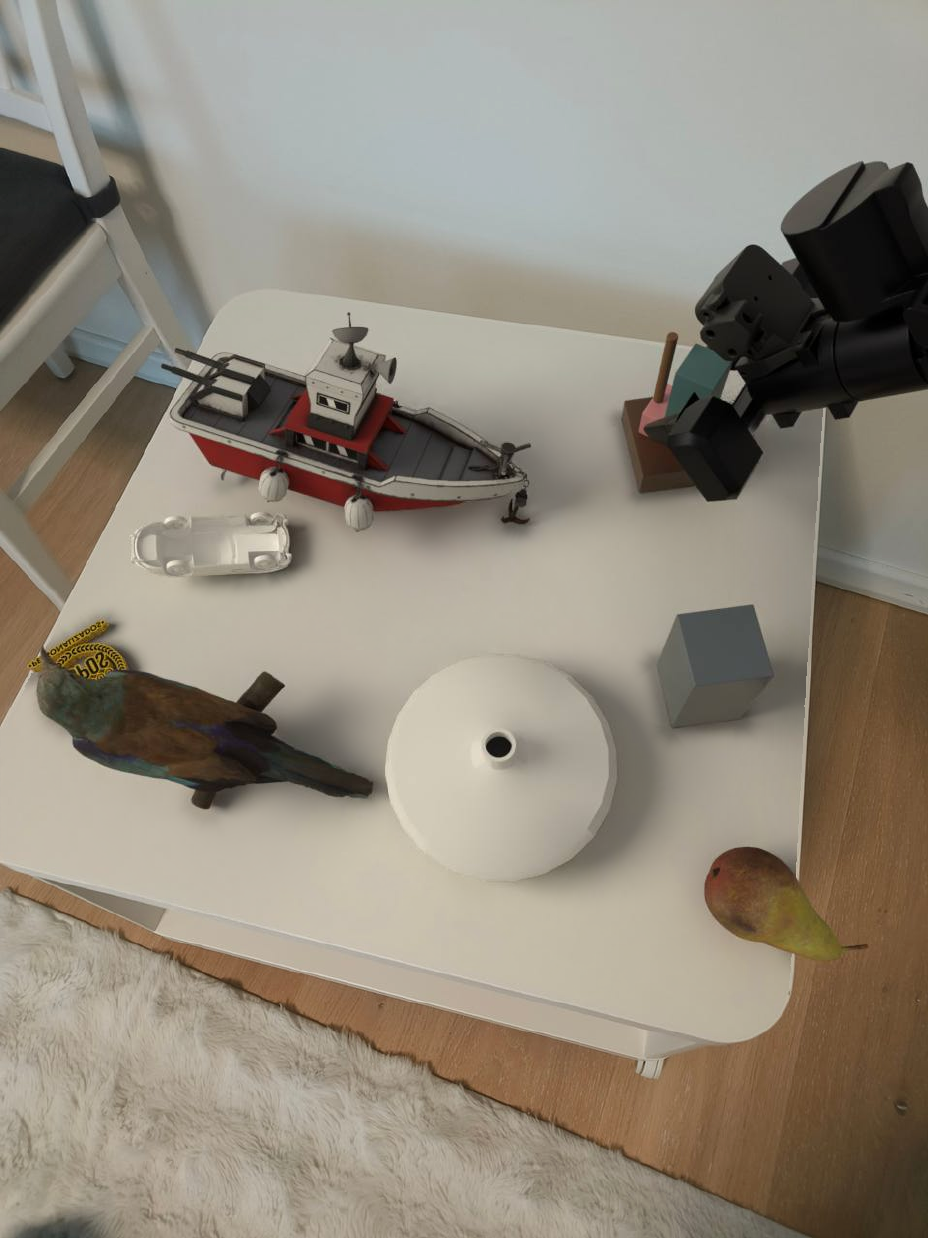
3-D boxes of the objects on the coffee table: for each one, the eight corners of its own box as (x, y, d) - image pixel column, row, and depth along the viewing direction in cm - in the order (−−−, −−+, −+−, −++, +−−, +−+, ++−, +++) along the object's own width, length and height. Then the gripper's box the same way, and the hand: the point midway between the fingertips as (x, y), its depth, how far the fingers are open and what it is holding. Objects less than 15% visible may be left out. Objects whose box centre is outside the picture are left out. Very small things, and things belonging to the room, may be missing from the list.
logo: (103, 617, 66) (147, 696, 63) (107, 621, 67) (150, 699, 64) (25, 663, 65) (66, 746, 62) (30, 667, 66) (71, 748, 63)
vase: (396, 897, 57) (380, 885, 51) (386, 678, 64) (371, 642, 57) (629, 876, 57) (643, 860, 50) (595, 658, 63) (604, 619, 57)
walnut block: (708, 407, 72) (714, 387, 70) (730, 481, 69) (737, 463, 66) (621, 419, 72) (624, 400, 70) (639, 493, 69) (643, 476, 67)
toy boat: (214, 405, 76) (200, 218, 62) (532, 507, 75) (588, 340, 62) (142, 501, 68) (108, 310, 54) (498, 616, 67) (554, 452, 54)
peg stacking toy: (720, 429, 68) (749, 346, 59) (700, 461, 67) (726, 381, 58) (659, 401, 69) (678, 316, 61) (637, 432, 68) (655, 350, 60)
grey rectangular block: (723, 655, 63) (753, 603, 54) (740, 719, 61) (774, 675, 52) (656, 664, 63) (676, 613, 55) (671, 728, 61) (694, 686, 52)
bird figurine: (399, 714, 61) (180, 585, 47) (359, 850, 58) (108, 754, 44) (278, 707, 69) (60, 595, 55) (236, 826, 66) (-8, 739, 52)
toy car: (287, 507, 68) (286, 528, 71) (128, 514, 65) (135, 535, 68) (292, 561, 66) (291, 580, 69) (129, 570, 63) (136, 590, 66)
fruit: (753, 868, 49) (916, 990, 49) (743, 815, 54) (890, 925, 55) (689, 925, 51) (846, 1042, 51) (686, 869, 56) (828, 976, 57)
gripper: (866, 148, 52) (672, 233, 65) (728, 356, 46) (547, 403, 59) (935, 294, 57) (743, 346, 70) (820, 498, 51) (633, 513, 64)
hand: (670, 396), depth 65 cm, fingers open, 7 cm apart
